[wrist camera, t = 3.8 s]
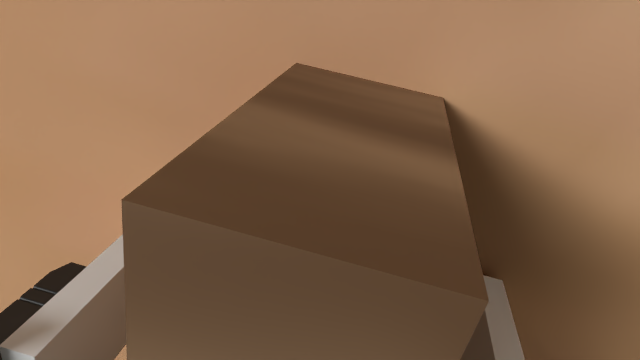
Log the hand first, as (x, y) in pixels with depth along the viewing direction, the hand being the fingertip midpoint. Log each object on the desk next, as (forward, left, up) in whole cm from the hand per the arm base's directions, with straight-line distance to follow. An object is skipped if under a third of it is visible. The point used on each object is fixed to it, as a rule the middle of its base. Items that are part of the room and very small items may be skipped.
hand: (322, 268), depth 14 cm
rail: (+2, 0, 0) cm, 2 cm away
